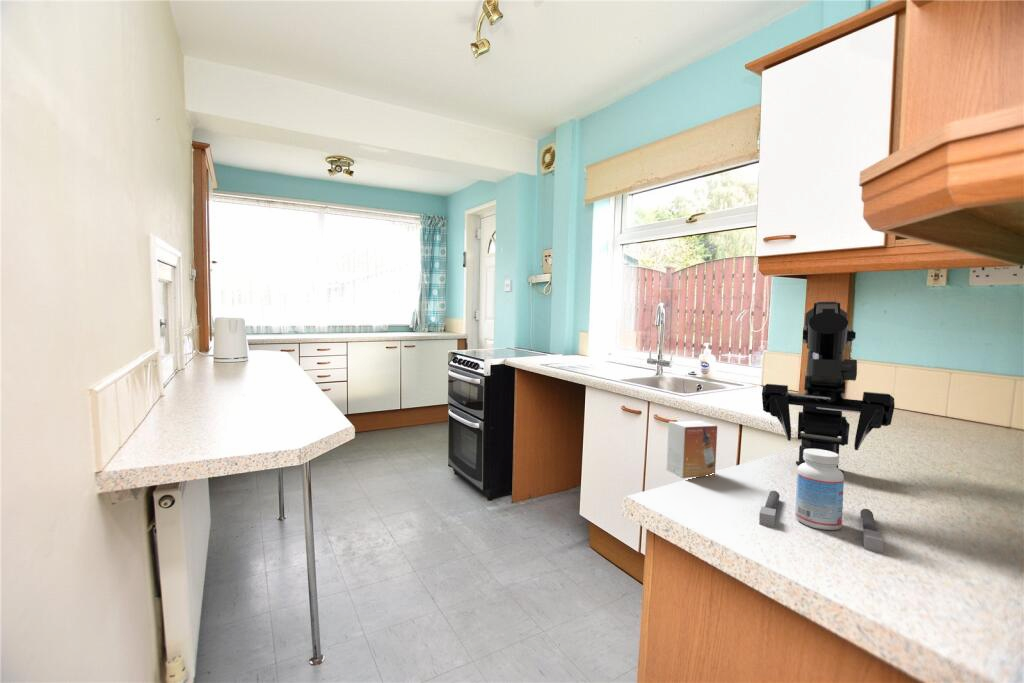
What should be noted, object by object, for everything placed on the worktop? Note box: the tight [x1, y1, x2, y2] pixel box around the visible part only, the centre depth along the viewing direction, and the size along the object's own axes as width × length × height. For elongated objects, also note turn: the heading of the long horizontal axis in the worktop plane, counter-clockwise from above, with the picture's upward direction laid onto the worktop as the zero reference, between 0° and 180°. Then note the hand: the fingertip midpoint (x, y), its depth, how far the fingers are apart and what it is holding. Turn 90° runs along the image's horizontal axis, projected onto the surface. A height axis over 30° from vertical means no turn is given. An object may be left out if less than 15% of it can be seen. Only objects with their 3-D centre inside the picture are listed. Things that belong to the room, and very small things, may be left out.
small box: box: [666, 419, 718, 479], centre depth 94 cm, size 8×6×10 cm
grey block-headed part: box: [860, 508, 885, 554], centre depth 68 cm, size 13×2×2 cm, turn 146°
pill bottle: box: [794, 449, 845, 531], centre depth 71 cm, size 6×6×11 cm
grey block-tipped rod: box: [758, 490, 780, 528], centre depth 75 cm, size 13×2×2 cm, turn 145°
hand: (821, 443), depth 75 cm, fingers open, 9 cm apart
